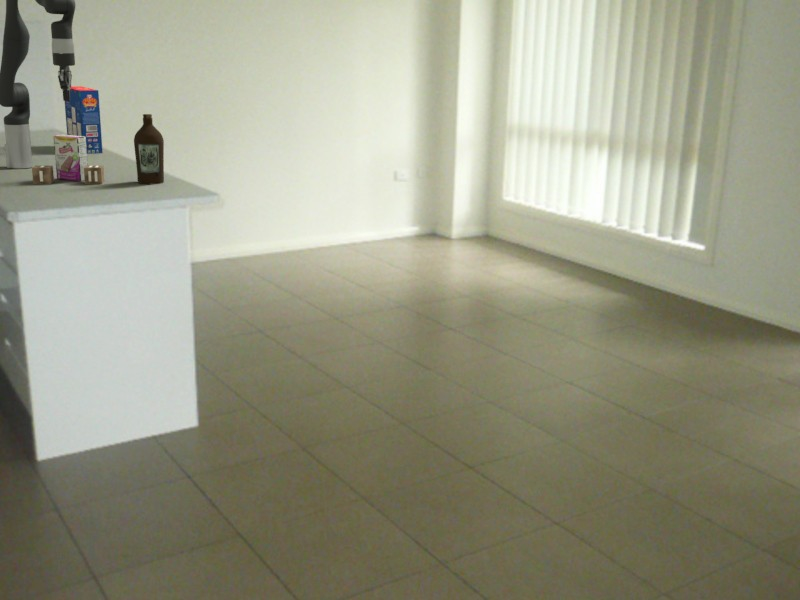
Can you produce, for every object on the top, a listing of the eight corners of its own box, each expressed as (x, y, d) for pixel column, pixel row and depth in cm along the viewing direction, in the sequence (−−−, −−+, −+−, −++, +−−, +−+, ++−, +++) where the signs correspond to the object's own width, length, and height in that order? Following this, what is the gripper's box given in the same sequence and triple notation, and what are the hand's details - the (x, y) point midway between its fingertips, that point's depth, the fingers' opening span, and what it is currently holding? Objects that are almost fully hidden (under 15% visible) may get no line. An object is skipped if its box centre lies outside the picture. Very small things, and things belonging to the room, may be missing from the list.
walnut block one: (33, 184, 331) (31, 167, 330) (37, 181, 337) (35, 165, 335) (50, 184, 332) (49, 167, 330) (54, 181, 338) (52, 165, 336)
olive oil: (136, 180, 345) (133, 113, 338) (165, 179, 348) (162, 113, 341) (135, 184, 335) (131, 115, 328) (165, 184, 338) (162, 115, 331)
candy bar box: (56, 179, 342) (52, 135, 338) (65, 177, 347) (61, 134, 342) (81, 181, 339) (77, 137, 334) (89, 180, 343) (86, 135, 339)
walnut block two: (84, 184, 334) (83, 167, 332) (87, 181, 340) (86, 165, 338) (101, 184, 335) (100, 167, 333) (104, 181, 341) (103, 165, 339)
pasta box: (102, 153, 416) (98, 90, 408) (84, 154, 411) (80, 90, 403) (85, 146, 438) (80, 86, 430) (68, 146, 434) (63, 86, 426)
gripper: (56, 51, 335) (59, 99, 340) (48, 52, 323) (52, 102, 328) (77, 51, 336) (80, 99, 341) (70, 52, 324) (74, 102, 329)
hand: (66, 100), depth 334 cm, fingers closed
